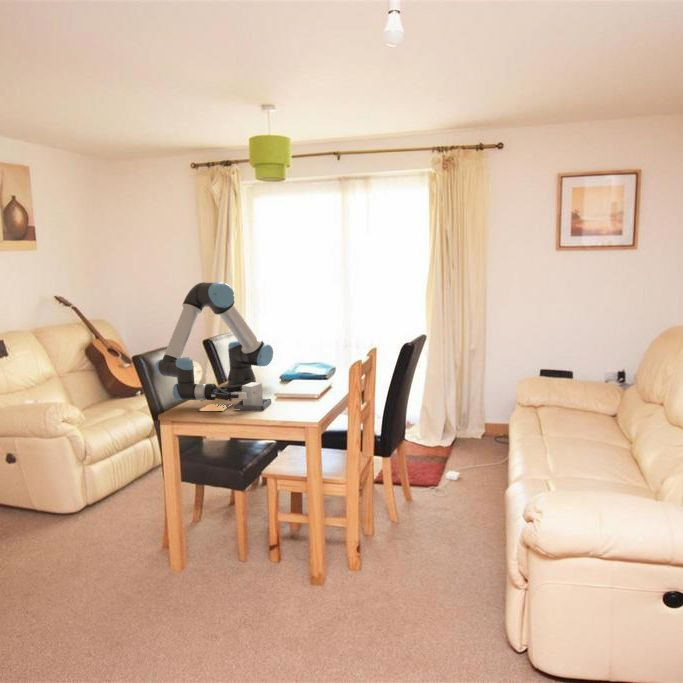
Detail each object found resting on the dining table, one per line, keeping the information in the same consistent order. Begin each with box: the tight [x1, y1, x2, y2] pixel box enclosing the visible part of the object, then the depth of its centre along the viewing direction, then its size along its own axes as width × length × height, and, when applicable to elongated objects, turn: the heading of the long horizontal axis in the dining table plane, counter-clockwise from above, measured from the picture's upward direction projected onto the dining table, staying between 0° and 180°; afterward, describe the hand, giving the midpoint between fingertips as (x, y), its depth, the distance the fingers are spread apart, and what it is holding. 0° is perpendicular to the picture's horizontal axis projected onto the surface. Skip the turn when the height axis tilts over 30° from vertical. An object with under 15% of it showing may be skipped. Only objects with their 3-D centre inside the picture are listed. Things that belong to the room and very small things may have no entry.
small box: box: [241, 381, 264, 405], centre depth 260 cm, size 8×6×10 cm
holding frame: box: [233, 398, 272, 411], centre depth 260 cm, size 12×13×2 cm
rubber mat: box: [215, 402, 232, 408], centre depth 260 cm, size 12×12×1 cm
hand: (251, 392), depth 259 cm, fingers open, 13 cm apart
